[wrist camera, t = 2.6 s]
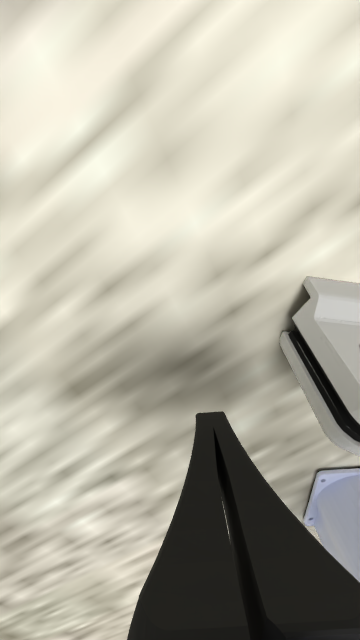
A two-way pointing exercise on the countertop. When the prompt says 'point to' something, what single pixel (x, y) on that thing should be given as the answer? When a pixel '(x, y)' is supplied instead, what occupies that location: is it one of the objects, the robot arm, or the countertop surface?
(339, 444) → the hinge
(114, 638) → the countertop surface
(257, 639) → the robot arm
